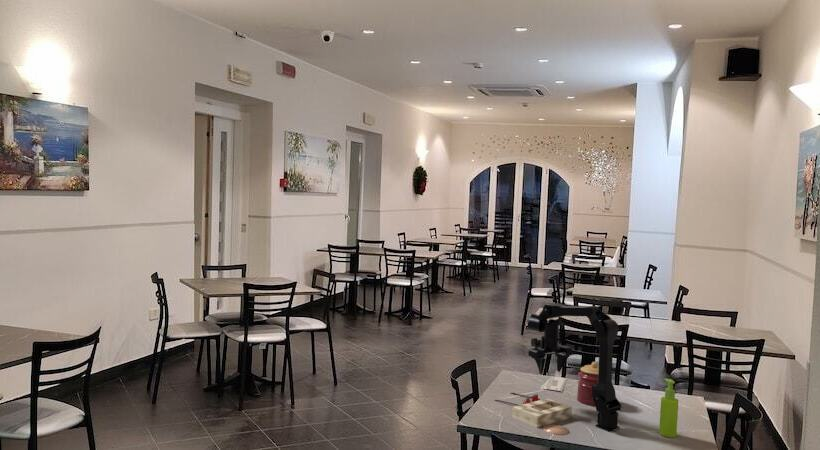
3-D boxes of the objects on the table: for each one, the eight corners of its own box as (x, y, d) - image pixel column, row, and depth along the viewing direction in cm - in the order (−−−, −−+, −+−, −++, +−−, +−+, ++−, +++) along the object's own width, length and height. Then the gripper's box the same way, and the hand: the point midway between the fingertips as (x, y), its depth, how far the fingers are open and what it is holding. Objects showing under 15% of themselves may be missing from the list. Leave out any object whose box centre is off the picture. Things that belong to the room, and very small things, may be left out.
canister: (611, 410, 259) (613, 367, 258) (578, 407, 261) (580, 364, 260) (606, 400, 272) (608, 359, 271) (575, 397, 274) (577, 356, 273)
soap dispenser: (670, 430, 237) (673, 377, 237) (679, 437, 231) (682, 383, 230) (655, 430, 237) (658, 377, 236) (663, 437, 230) (666, 382, 229)
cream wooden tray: (546, 410, 255) (547, 398, 255) (571, 419, 245) (571, 406, 245) (512, 420, 243) (512, 407, 242) (536, 429, 233) (537, 416, 233)
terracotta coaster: (573, 433, 231) (573, 430, 231) (557, 438, 226) (557, 435, 226) (553, 425, 238) (553, 422, 238) (537, 430, 233) (537, 427, 233)
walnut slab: (544, 409, 248) (544, 403, 248) (553, 413, 245) (553, 406, 244) (530, 413, 243) (530, 407, 243) (539, 417, 240) (540, 410, 240)
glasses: (524, 413, 251) (525, 401, 251) (488, 404, 261) (488, 392, 261) (540, 405, 263) (540, 393, 262) (504, 396, 273) (505, 385, 272)
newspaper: (540, 380, 300) (541, 374, 300) (567, 383, 296) (567, 378, 296) (533, 393, 279) (533, 387, 279) (562, 397, 275) (562, 391, 275)
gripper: (555, 329, 268) (553, 365, 269) (520, 332, 259) (518, 370, 260) (574, 334, 259) (572, 372, 259) (538, 337, 250) (536, 377, 250)
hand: (549, 372), depth 257 cm, fingers open, 9 cm apart
